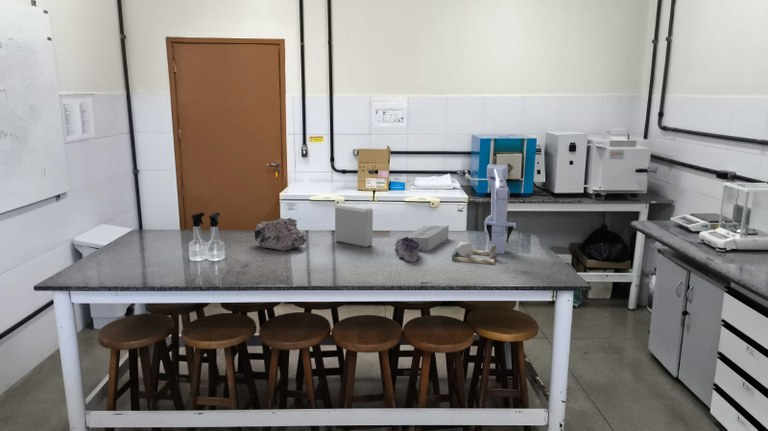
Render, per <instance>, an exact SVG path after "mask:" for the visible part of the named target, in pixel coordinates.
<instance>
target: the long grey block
mask: <svg viewBox="0 0 768 431" xmlns="http://www.w3.org/2000/svg"><path fill="white" fill-rule="evenodd" d="M405 237H408V238H412V239H413V240H415V241H416V242H418V243H419V251H422V252H429V251H430V250H432V249H433V248H436V247H437V246H438V245H440V244H441V243H443V242H445V241H447V240H448V239H449V225H424V226H422V227H420V228H418V229H416V230H414V231H412V232H410V233H408V234H406V235H405V236H403V237H401V239H403V238H405Z"/></svg>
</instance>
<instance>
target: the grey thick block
mask: <svg viewBox="0 0 768 431" xmlns="http://www.w3.org/2000/svg"><path fill="white" fill-rule="evenodd" d="M373 212H374V210H373V209H372V207H368V206H367V207H366V206H360V205H353V204H347V203H338V204H336V205H335V206H334V217H335V218H334V228H335V229H334V240H335V241H336V242H337V243H341V242H342V243H341V244H346V243H347V244H348V245H351V244H352V246H356V245H358V247H361V246H363V247H362V248H368V246H369V247H371V246H372V245H373V235H374V234H373V228H374V227H373V225H374V224H373V223H374V221H373V219H374V215H373V214H374V213H373ZM347 244H346V245H347Z"/></svg>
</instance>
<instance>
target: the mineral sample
mask: <svg viewBox="0 0 768 431" xmlns="http://www.w3.org/2000/svg"><path fill="white" fill-rule="evenodd" d="M297 225H298V223H297V219H294V218H292V217H290V218H283V217H280V218H277V219H271V220H269V221H261V222H260V223H257V225H256V227H255V229H254V239H255V241H256V242H258V244H259V245H260V247H261V248H263V249H273V250H278V251H287V250H288V251H290V250H293V249H295V248H297V247H302V246H304V245H305V244H306V242H307V235H306V234H305V233H304V232H302V231H300V230H299V229H298V227H297Z"/></svg>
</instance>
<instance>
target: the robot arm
mask: <svg viewBox="0 0 768 431" xmlns="http://www.w3.org/2000/svg"><path fill="white" fill-rule="evenodd" d="M508 172H509V167H508V165H507V164H488V165H487V167H486V180H487V182H488V183H490V186H491V198H490V199H491V200H490V203H491V204H490V215H488V216H487V217H486V218H485V220H484V222H483V224H484V233H485V234H486V236H487V237H486V247H485V250H484V251H490V245H496V246H497V250H496V254H501V255H505V251H506V243H507V244H508V242H509V239H510V236H511V234H512V232H513V231H514V229H516V227H517V223H516V222H510V221H507V216H508V203H509V199H510V194H511V193H510V192H511V191H510V188H509V187H508V184H507V179H508V178H507V177H508ZM506 228H507V231H506ZM505 233H506V234H507V235H505Z"/></svg>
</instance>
